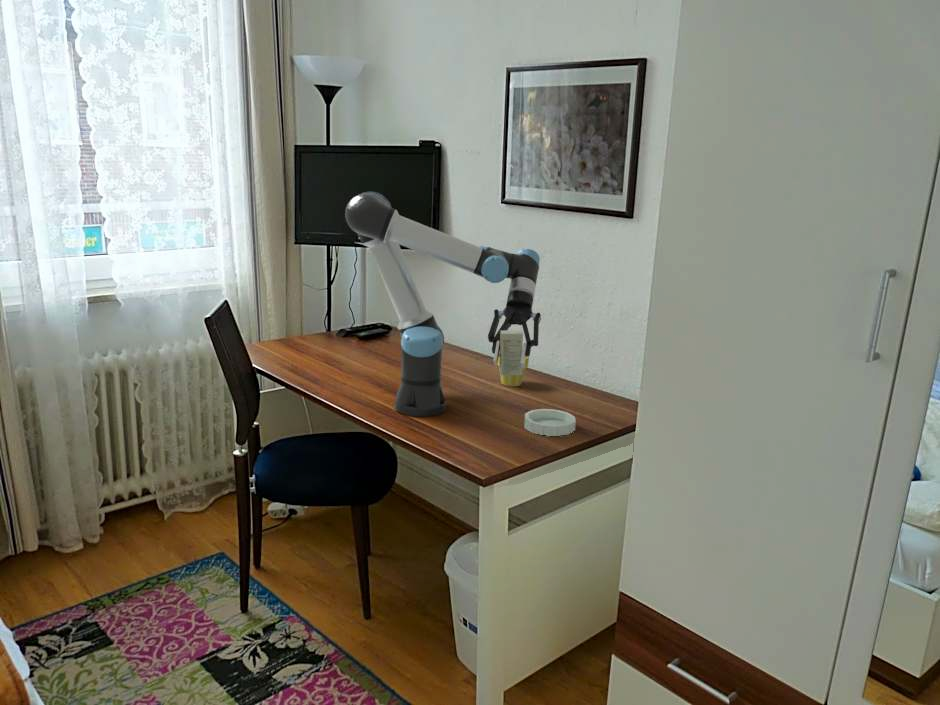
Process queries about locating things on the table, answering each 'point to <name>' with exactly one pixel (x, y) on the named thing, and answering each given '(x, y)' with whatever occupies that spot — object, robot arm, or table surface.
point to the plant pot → (513, 379)
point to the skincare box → (511, 352)
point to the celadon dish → (549, 422)
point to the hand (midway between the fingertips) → (508, 364)
